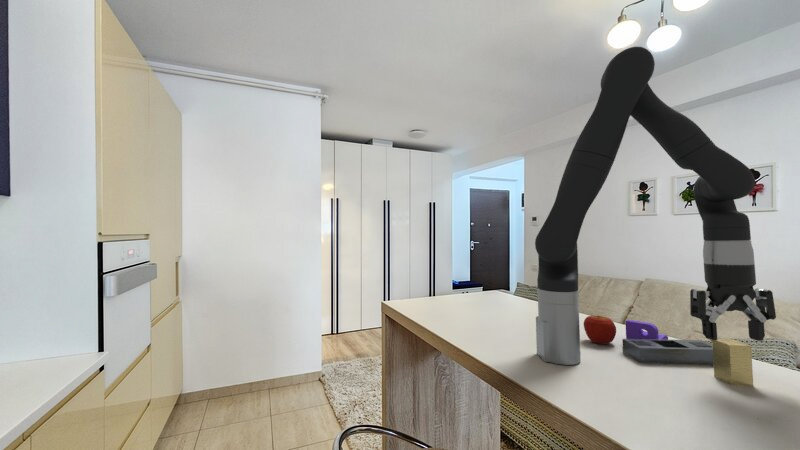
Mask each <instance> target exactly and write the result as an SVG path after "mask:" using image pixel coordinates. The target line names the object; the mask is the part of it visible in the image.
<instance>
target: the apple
mask: <svg viewBox="0 0 800 450" xmlns="http://www.w3.org/2000/svg"><path fill="white" fill-rule="evenodd" d="M583 329H584V331H585V334H586V336H587V338H588V339H589V340H590V341H591V342H593V343H595V344H599V345H606V344H607V345H608V344H610V343H612V342H613V341H614V339H615V337H616V334H617V327H616V325H615V323H614V321H613V320H612V319H611V318H609V317H606V316H602V315H588V316H587V317H586V318H584V321H583Z"/></svg>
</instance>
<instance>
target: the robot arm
mask: <svg viewBox="0 0 800 450" xmlns="http://www.w3.org/2000/svg"><path fill="white" fill-rule="evenodd" d="M655 64H656V63H655V58H654V55H653V54H652V52H651V51H649V49H647V48H645V47H643V46H631V47H628V48H626V49H624V50H621V51H620V52H619V53H617V54H616V55H615V56H614V57H613V58H611V60H610V61H609V63H608V64H607V66H606V68H605V69H604V72H603V74H602V76H601V79H600V93H599V96H598V99H597V101H596V104H595V107H594V109H593V112H592V113H591V115H590V116H589V118H588V121H587V122H586V124H585V125H584V127H583V129H582V130H581V132H580V134H579V136H578V138H577V139H576V142H575V144H574V146H573V148H572V151H571V153H570V156H569V158H568V160H567V164H566V165H565V169H564V171H563V174H562V177H561V180H560V183H559V186H558V189H557V194H556V196H555V200H554V203H553V205H552V207H551V209H550V212H549V213H548V215H547V218H546V219H545V221H544V223H543V225H542V226H541V228H540V229H539V231H538V233H537V235H536V237H535V241H534V247H535V251H536V253H537V255H538V272H537V280H536V281H537V311H538V313H537V315H538V316H536V317H535V334H536V335H535V337H536V338H535V339H536V354H537V355H538V356H539V357H540V358H541V360H542V361H544V362H546V363H552V364H556V365H564V366H573V365H577V364H580V363H581V353H582V352H581V339H580V338H581V337H580V333H581V332H580V331H581V330H580V307H579V306H580V304H579V302H580V301H579V259H578V257H579V254H578V251H579V250H578V239H579V236H580V232H581V229H582V226H583V223H584V219H585V218H586V215H587V212H588V210H589V209H590V207H591V206H592V204H593V202H594V201H595V200H596V198H597V196H598V195H599V193H600V192H601V189H602V188H603V186H604V184H605V182H606V181H607V178H608V176H609V174H610V172H611V169H612V167H613V166H614V165H613V164H614V162H615V161H616V158H617V155H618V152H619V149H620V146H621V145H622V141H623V138H624V135H625V132H626V129H627V126H628V123H629V119H630V117H631V118H633V120H635V121H636V122H637V123H638V124H639V125H641V126H642V127H643V128H644V130H646V131H647V132H648V133H649V135H651V137H653V138H654V140H655V141H656V142H657V143H658V144H659V145H660V147H661V148H662V149H663V150H664V151H665V152H666V154H667V155H668V156H669V157H670V158H671V159H672V161H674V163H675V164H676V165H677V166H678V167H679V168H680V169H683V170H690V171H693V172H695V174H696V175H698V178H697V179H696V180H695V182H694V186H693V199H694V201H695V204H696V208H697V210H698V213H699V215H700V218H701V221H702V236H703V248H702V259H703V272H704V273H703V274H704V275H703V276H704V282H705V283H706V285H707V287H706V290H705V289H704V290H702V289H701V290H700V289H697V288H691V289H690V295H689V296H690V297H689V300H690V301H689V302H690V305H689V307H690V308H689V309H690V313H689V314H690V316H692V318H693V317H694V318H696V319H699V320H701V327H702V328H701V329H702V335H703V336H704V337H705V338H706V339H708V340H711V341H713V340H717V339H718V328H717V322H716V321H717V319H719V317H720V316H721V315H724V313H725V312H733V311H739V312H742V313H743V314H744V315H745V316H746V317H747V318H748V319H749V320H747V327H748V337H749V338H750V339H751V340H754V341H756V342H757V341H758V342H763V341H764V338H765V337H766V334H765V333H766V332H765V323H766V322H767V321H769V320H772V321H773V320H775V319H776V318H777V315H776V313H777V312H776V309H775V300H774V295H773V294H774V293H773V291H772V290H770V289H766V288H764V289H763V288H757V287H756V288H755V289H754V286H756V284H757V277H756V267H755V266H756V265H755V253H754V248H753V244H752V238H751V237H752V236H751V225H750V218H749V216H748V215H747V214H745V213H744V212H740V211H738V210H737V206H736V205H737V204H736V202H735V200H738V199H742V198H745V197H746V196H748V195H750V194H751V193H752V192H753V191H754V190H755V189H754V188H755V186H756V180H755V179H756V178H755V175H754V174H753V172H752V171H751V169H750V168H749V167H748V166H747V165H746V164H744V163H743V162H742V161H740V160H739V159H738V158H736V157H735V156H733V155H732V154H730V153H729V152H728V151H726V150H724V149H722V148H720V147H718V146H717V145H716V144H715V143H714V141H712V140H711V138H710V137H709V136H708V135H707V134H706V132H705V131H703V129H702V128H701V127H700V126H699V125H697V123H695V122H694V120H692V119H691V118H690V117H688V116H686V115H685V114H683V113H681V112H679V111H677V110H676V109H674V108H672V107H671V106H670V105H668V104H667V103H665V102H664V101H663V100H662V99H660V98H659V97H658V96H657V94H656V93H655V92H654V91H653V89H652V87H651V86H650V85H649V81H650V80H651V78H652V76H653V74H654V71H655ZM754 299H755V300H754ZM707 300H708V301H707ZM754 301H755V302H754Z"/></svg>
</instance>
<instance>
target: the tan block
mask: <svg viewBox="0 0 800 450" xmlns="http://www.w3.org/2000/svg"><path fill="white" fill-rule="evenodd" d="M712 345H713V360H714V365H713V374H714V375H713V376H714V377H715V378H717V379H719V380H720V381H723V382H725V383H727V384H728V385H731V386H752V387H753V386H754V373H753V355H752V354H753V353H752V352H753V351H752V345H750V344H748V343H745V342H742V341H738V340H736V339H733V338H732V339H730V338H729V339H728V338H717V340H712Z"/></svg>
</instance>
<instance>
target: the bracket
mask: <svg viewBox="0 0 800 450" xmlns="http://www.w3.org/2000/svg"><path fill="white" fill-rule="evenodd" d="M625 339H665V340H669V336H668V335H666V334H662V333H659V329H658V327H657V325H655V324H654V323H651V322H645V321H640V320H633V319H626V320H625Z"/></svg>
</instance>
